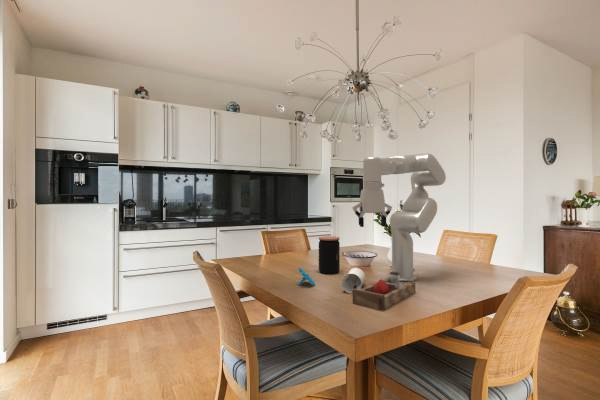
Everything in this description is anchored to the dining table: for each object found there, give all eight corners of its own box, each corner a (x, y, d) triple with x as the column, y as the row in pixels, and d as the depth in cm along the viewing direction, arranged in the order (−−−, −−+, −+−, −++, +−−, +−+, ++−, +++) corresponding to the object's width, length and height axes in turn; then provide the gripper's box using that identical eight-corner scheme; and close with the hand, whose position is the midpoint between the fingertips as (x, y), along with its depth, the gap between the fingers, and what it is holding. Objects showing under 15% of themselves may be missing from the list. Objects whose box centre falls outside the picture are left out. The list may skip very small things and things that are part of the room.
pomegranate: (371, 297, 125) (371, 276, 125) (386, 297, 125) (386, 276, 125) (376, 302, 119) (376, 280, 119) (391, 302, 119) (391, 280, 119)
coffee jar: (340, 274, 163) (340, 238, 163) (319, 274, 163) (319, 238, 163) (338, 270, 173) (338, 236, 173) (318, 270, 173) (318, 236, 173)
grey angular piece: (393, 287, 137) (393, 268, 137) (409, 290, 133) (409, 271, 133) (378, 294, 128) (378, 274, 128) (395, 298, 123) (395, 277, 123)
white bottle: (367, 283, 147) (367, 265, 147) (361, 294, 129) (361, 274, 129) (349, 281, 149) (349, 264, 150) (341, 292, 132) (341, 272, 132)
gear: (316, 284, 138) (299, 267, 139) (306, 294, 138) (289, 277, 139) (316, 281, 149) (301, 265, 150) (307, 291, 148) (292, 274, 150)
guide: (388, 287, 139) (388, 275, 139) (415, 292, 131) (415, 280, 131) (352, 303, 118) (352, 289, 118) (382, 310, 110) (382, 295, 110)
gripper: (387, 186, 145) (388, 225, 145) (350, 186, 142) (350, 226, 142) (395, 185, 137) (395, 226, 137) (355, 186, 134) (355, 227, 135)
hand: (372, 226), depth 140 cm, fingers open, 9 cm apart
